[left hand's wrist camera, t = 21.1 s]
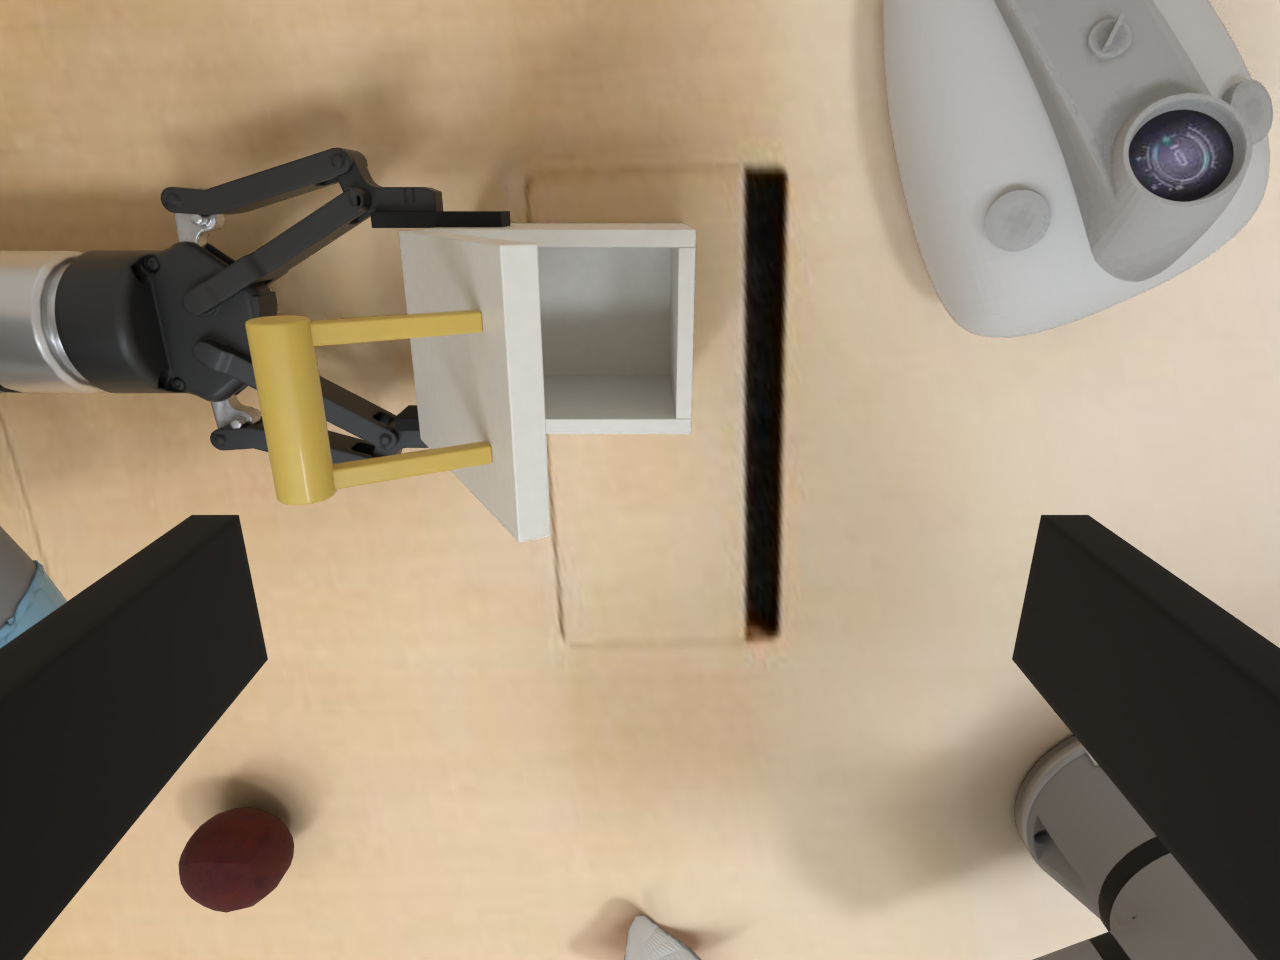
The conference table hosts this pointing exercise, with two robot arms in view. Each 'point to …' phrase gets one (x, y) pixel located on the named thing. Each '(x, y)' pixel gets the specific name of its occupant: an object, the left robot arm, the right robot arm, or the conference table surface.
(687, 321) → the chest
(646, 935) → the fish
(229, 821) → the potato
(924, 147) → the projector
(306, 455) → the lid
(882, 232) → the conference table surface
